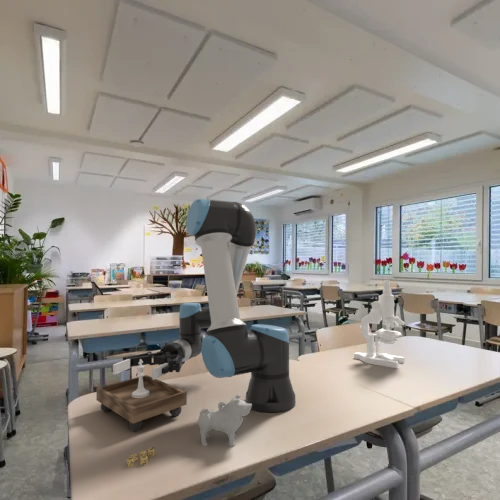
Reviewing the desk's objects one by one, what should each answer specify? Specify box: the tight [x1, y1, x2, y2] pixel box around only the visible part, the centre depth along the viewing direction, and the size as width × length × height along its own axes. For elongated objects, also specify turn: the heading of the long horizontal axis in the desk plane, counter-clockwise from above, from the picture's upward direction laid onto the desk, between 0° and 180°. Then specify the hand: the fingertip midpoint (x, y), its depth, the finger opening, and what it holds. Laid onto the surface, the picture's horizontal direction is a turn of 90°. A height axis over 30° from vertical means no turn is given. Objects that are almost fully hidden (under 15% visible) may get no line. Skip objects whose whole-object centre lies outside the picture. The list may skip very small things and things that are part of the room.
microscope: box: [353, 279, 406, 369], centre depth 150 cm, size 18×20×35 cm
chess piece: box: [132, 359, 150, 398], centre depth 100 cm, size 5×5×10 cm
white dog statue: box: [197, 394, 252, 448], centre depth 83 cm, size 5×13×11 cm, turn 87°
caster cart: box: [96, 374, 188, 432], centre depth 99 cm, size 22×16×6 cm
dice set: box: [126, 446, 155, 468], centre depth 75 cm, size 5×5×2 cm
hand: (132, 372), depth 96 cm, fingers open, 13 cm apart
